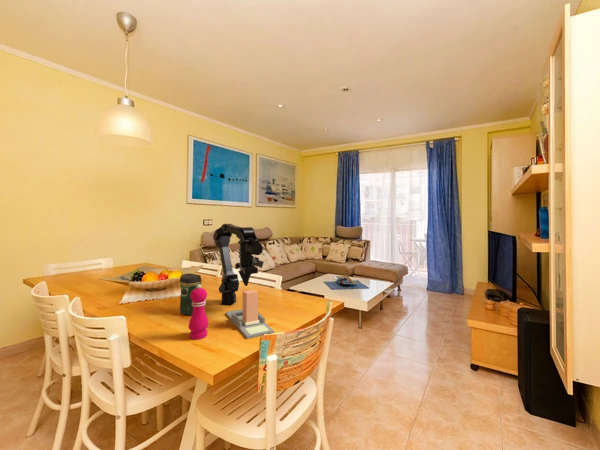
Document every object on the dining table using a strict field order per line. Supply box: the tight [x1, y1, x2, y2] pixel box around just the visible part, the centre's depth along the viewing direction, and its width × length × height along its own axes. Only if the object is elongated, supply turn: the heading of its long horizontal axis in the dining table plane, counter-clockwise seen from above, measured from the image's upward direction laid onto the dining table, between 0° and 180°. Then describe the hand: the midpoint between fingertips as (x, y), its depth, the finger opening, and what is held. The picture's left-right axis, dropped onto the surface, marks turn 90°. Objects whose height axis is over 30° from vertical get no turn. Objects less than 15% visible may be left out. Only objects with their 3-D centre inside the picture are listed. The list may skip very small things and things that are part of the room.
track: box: [225, 308, 275, 340], centre depth 118 cm, size 30×11×3 cm, turn 30°
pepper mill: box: [188, 284, 210, 340], centre depth 104 cm, size 7×7×20 cm
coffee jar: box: [179, 273, 202, 316], centre depth 129 cm, size 10×8×19 cm
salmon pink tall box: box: [241, 289, 259, 326], centre depth 115 cm, size 6×6×13 cm
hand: (246, 285), depth 131 cm, fingers closed
